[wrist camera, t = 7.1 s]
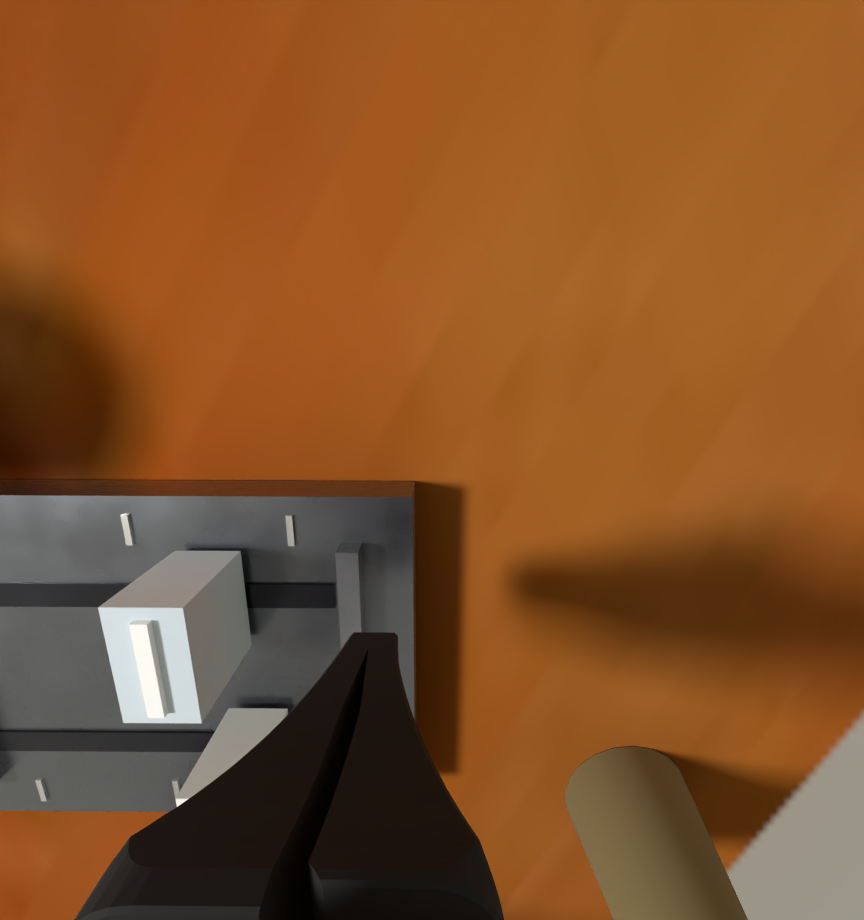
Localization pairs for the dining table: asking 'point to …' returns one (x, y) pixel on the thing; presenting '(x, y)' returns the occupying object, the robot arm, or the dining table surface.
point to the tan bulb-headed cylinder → (648, 839)
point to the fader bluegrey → (177, 636)
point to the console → (131, 555)
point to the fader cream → (230, 745)
